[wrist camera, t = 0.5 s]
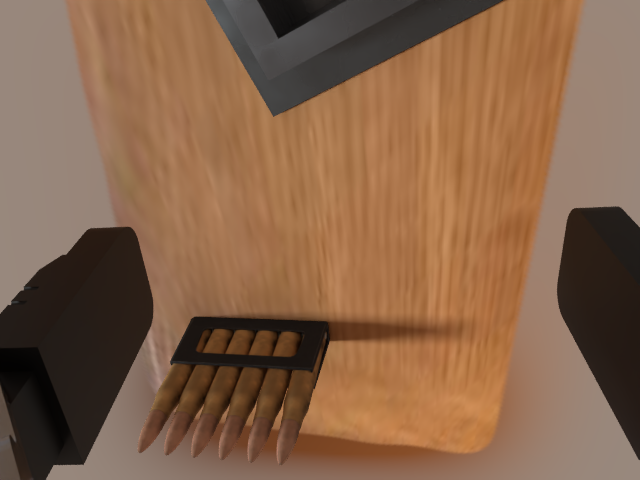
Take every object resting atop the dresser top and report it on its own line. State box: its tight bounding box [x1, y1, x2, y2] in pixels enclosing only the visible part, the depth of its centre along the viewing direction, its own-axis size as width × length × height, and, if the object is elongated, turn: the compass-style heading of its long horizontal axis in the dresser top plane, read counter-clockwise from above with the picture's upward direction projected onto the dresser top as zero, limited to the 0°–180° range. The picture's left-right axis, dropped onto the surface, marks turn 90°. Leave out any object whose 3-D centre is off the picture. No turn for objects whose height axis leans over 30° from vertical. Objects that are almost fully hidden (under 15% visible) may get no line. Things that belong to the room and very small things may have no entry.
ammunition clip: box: [138, 317, 330, 465], centre depth 39 cm, size 11×2×12 cm, turn 95°
